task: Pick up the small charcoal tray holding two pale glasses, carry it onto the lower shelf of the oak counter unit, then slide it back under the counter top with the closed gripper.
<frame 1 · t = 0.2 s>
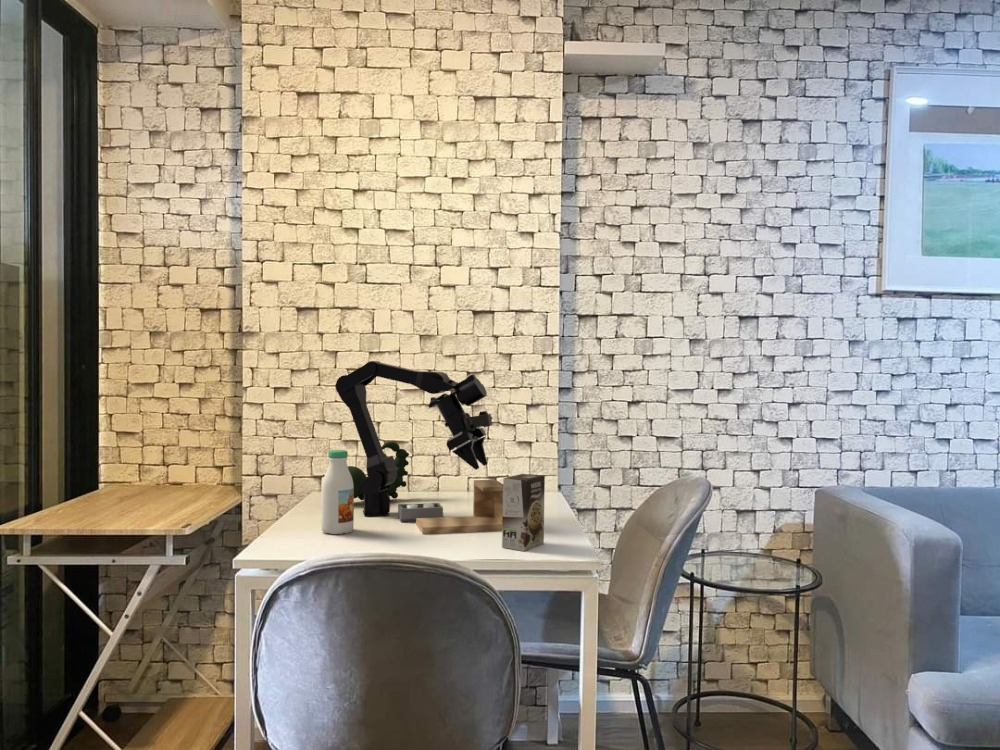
hand: (481, 467, 207), 14 cm above the table, tool tilted 30°, fingers open, 9 cm apart
milk bottle: (337, 532, 194), on the table
tray: (420, 519, 209), on the table
toy figurine: (366, 503, 231), on the table
counter: (462, 527, 200), on the table
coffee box: (523, 546, 181), on the table
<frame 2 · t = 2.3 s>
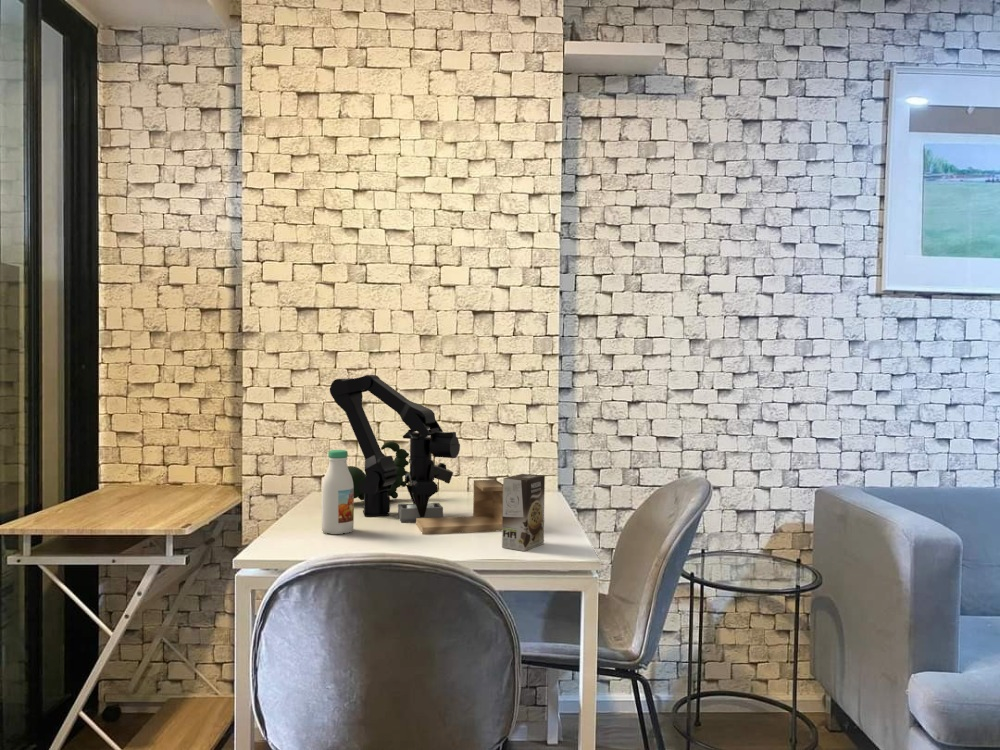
hand: (420, 514, 209), 1 cm above the table, tool pointing down, fingers closed on tray, 6 cm apart
tray: (420, 519, 209), on the table, touching gripper
everything else where it was.
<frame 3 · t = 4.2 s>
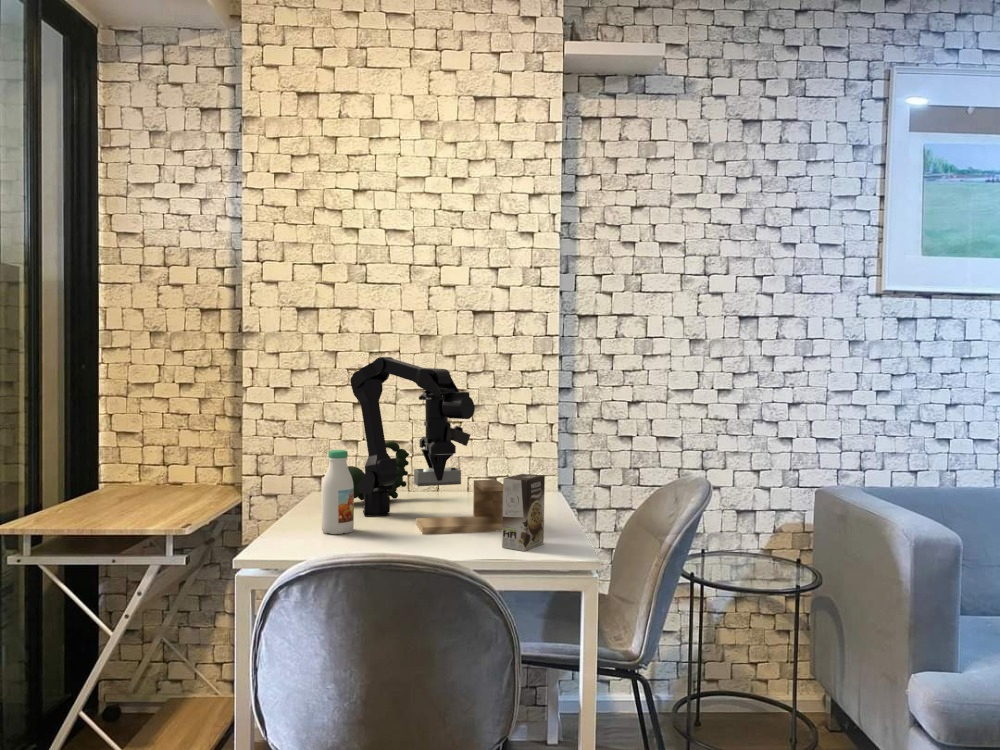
hand: (437, 478, 202), 12 cm above the table, tool pointing down, fingers closed on tray, 6 cm apart
tray: (437, 483, 202), point 11 cm above the table, touching gripper
everything else where it was.
when the fingers open (4 cm above the table, at t = 6.3 s): tray drops 1 cm, resting on counter.
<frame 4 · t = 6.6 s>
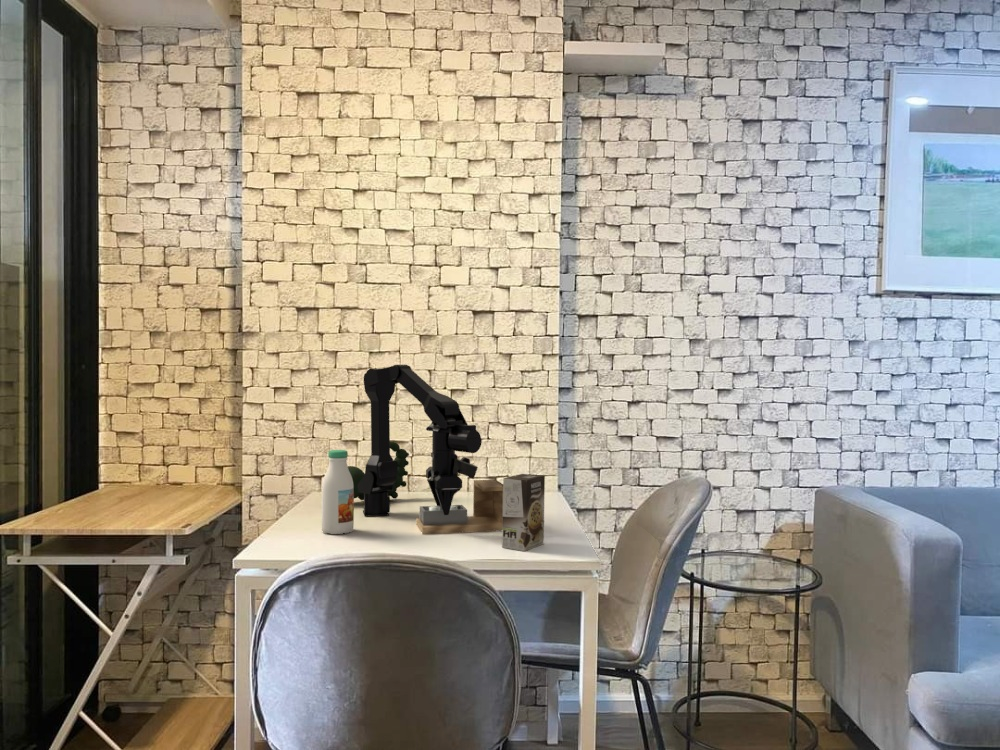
hand: (443, 511, 199), 4 cm above the table, tool pointing down, fingers open, 9 cm apart
tray: (443, 521, 199), point 2 cm above the table, touching counter
everything else where it was.
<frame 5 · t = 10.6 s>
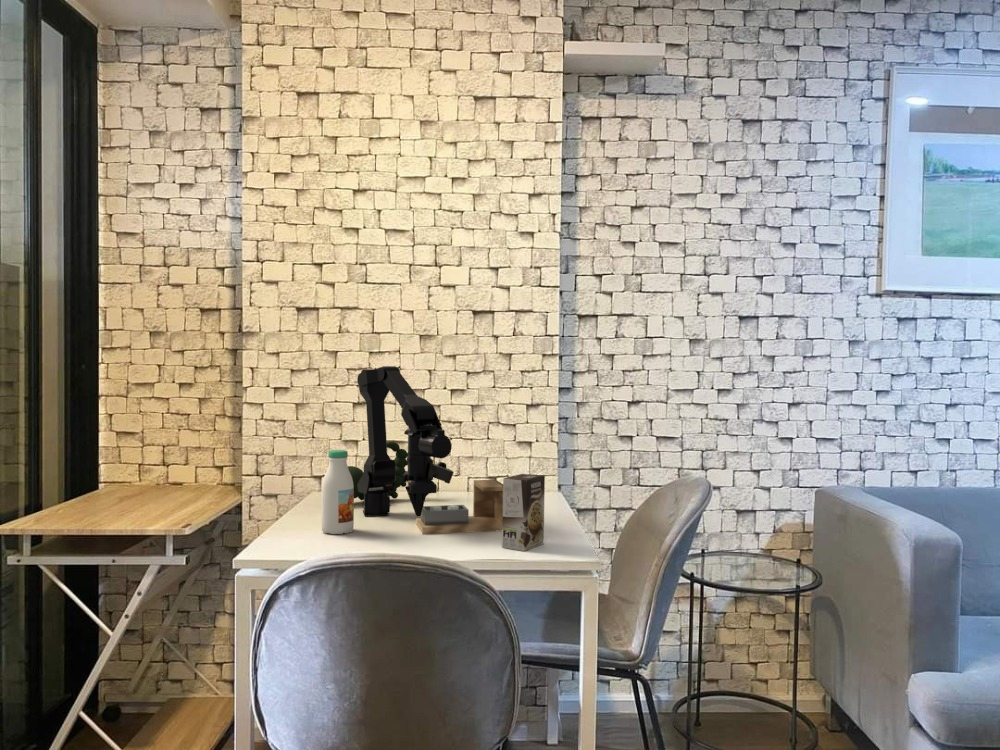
hand: (418, 516, 197), 3 cm above the table, tool pointing down, fingers closed, pressing on tray
tray: (444, 521, 199), point 2 cm above the table, touching gripper
everything else where it was.
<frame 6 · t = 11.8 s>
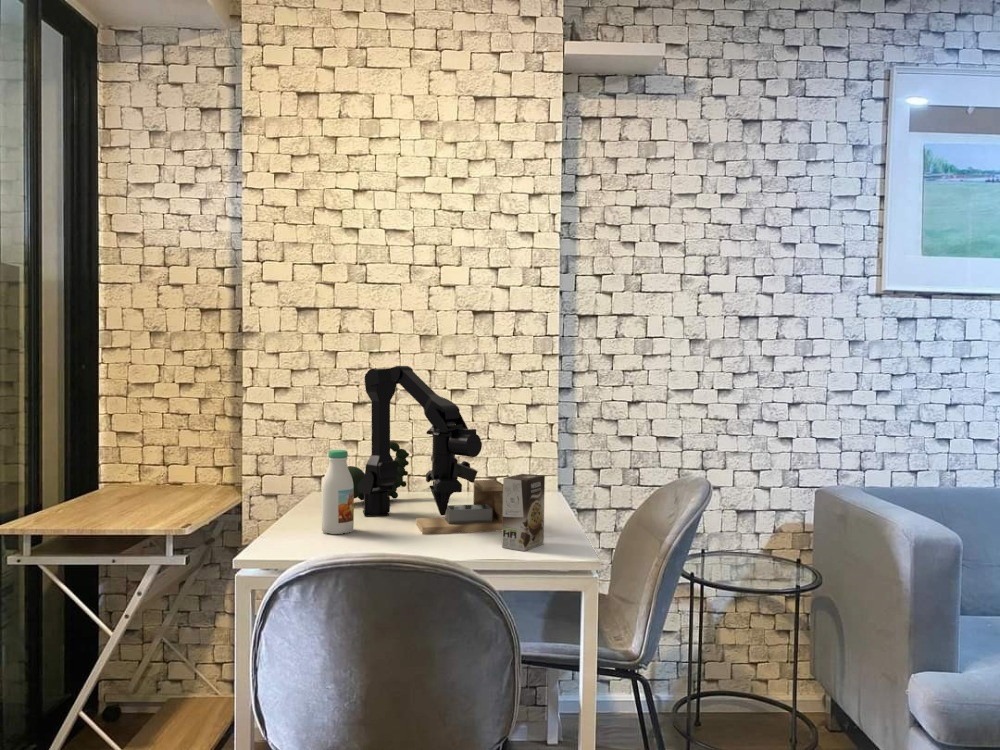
hand: (442, 515, 198), 3 cm above the table, tool pointing down, fingers closed, pressing on tray
tray: (468, 520, 200), point 2 cm above the table, touching counter, gripper
everything else where it was.
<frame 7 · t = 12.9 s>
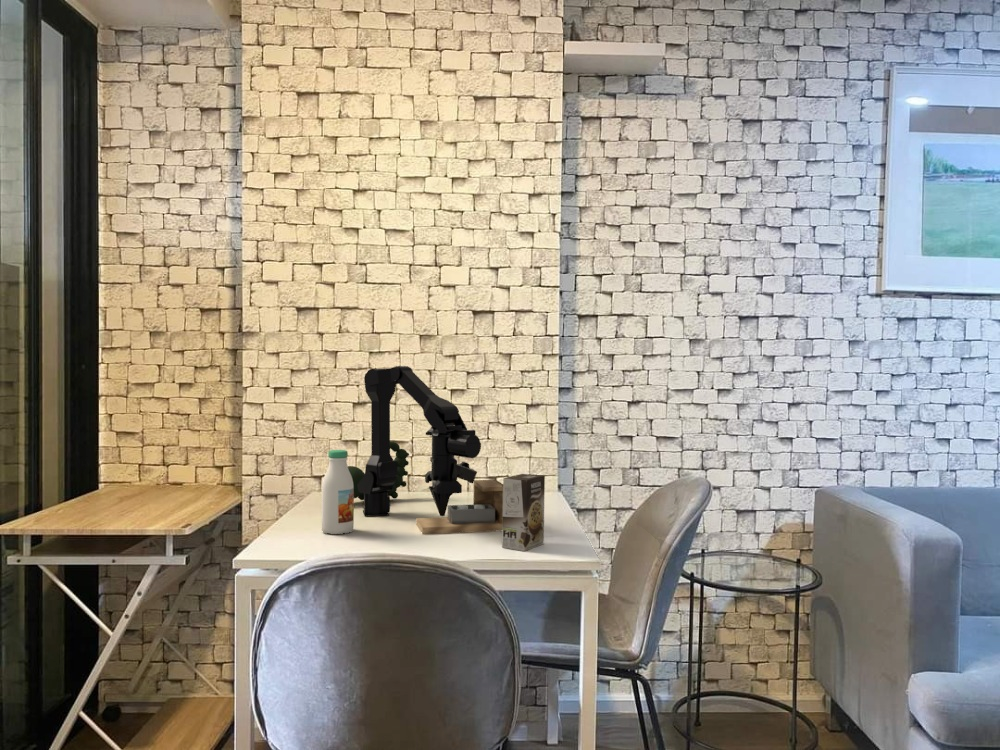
hand: (442, 515, 199), 3 cm above the table, tool pointing down, fingers closed
tray: (470, 520, 200), point 2 cm above the table, touching counter
everything else where it was.
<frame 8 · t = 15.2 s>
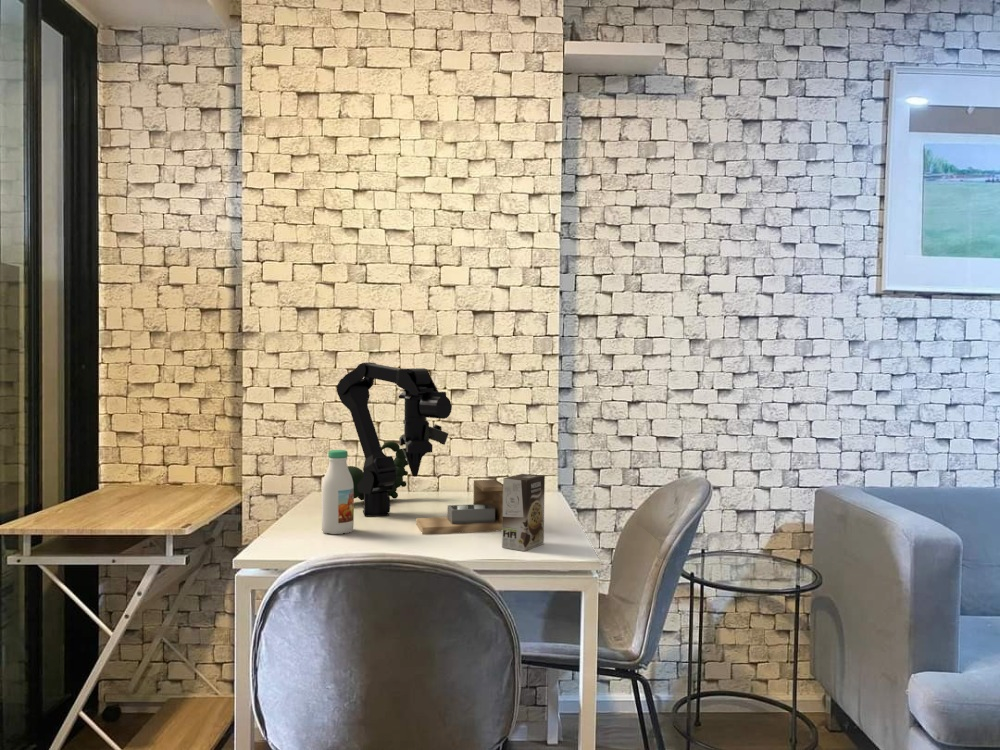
hand: (415, 476, 205), 12 cm above the table, tool pointing down, fingers closed
nothing on the table moved.
at the end: tray 1.1 cm from the target spot, point 1.6 cm above the table; tray tilted 0°; the gripper is holding nothing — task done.
